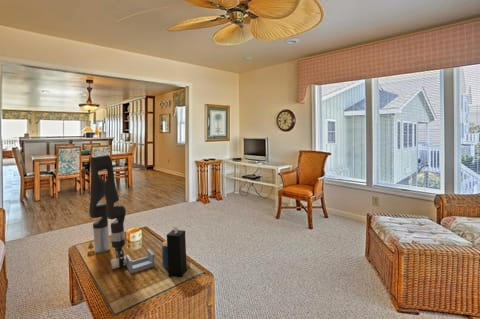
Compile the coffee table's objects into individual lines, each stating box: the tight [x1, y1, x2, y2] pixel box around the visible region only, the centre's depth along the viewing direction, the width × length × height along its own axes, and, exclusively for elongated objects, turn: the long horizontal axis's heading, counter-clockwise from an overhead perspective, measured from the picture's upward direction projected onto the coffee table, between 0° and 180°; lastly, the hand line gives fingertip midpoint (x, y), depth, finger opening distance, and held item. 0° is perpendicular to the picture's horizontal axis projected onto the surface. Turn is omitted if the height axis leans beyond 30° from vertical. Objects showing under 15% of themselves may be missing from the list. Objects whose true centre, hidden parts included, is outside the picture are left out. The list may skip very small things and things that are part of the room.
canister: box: [161, 239, 168, 270], centre depth 161 cm, size 13×13×18 cm
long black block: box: [166, 226, 188, 278], centre depth 150 cm, size 8×8×28 cm
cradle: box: [125, 248, 155, 274], centre depth 160 cm, size 10×14×8 cm
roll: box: [110, 255, 127, 270], centre depth 160 cm, size 9×6×6 cm, turn 127°
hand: (119, 263), depth 160 cm, fingers open, 8 cm apart
